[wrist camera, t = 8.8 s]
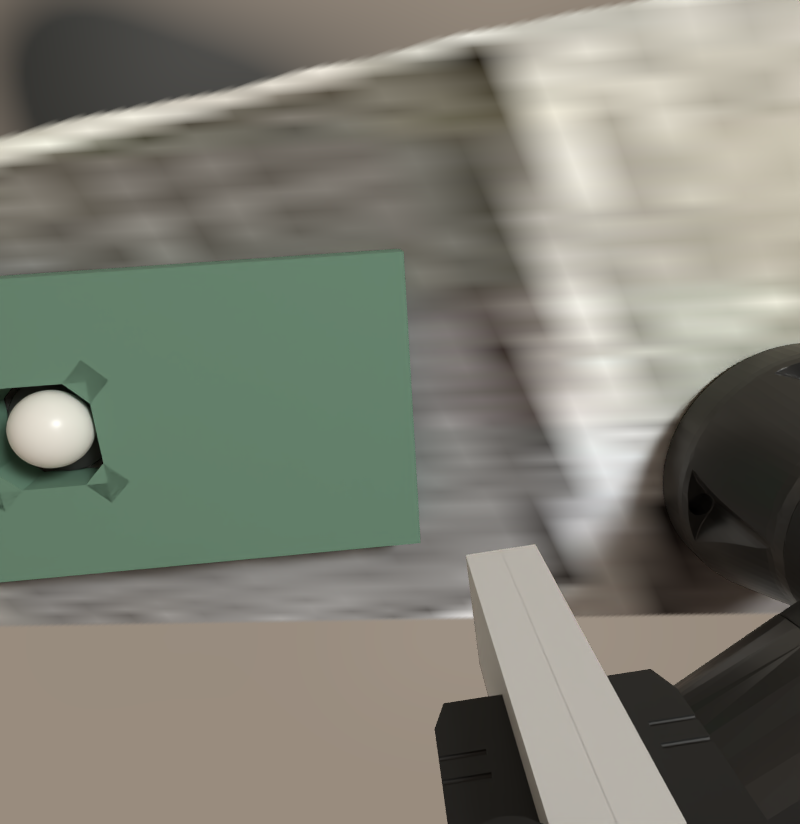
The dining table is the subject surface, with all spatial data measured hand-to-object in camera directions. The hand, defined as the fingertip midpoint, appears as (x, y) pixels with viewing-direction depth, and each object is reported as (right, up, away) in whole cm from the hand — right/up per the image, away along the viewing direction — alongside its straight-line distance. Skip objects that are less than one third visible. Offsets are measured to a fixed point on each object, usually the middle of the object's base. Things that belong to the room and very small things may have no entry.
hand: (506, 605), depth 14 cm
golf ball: (-20, +3, +18) cm, 27 cm away
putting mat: (-15, +4, +21) cm, 26 cm away
